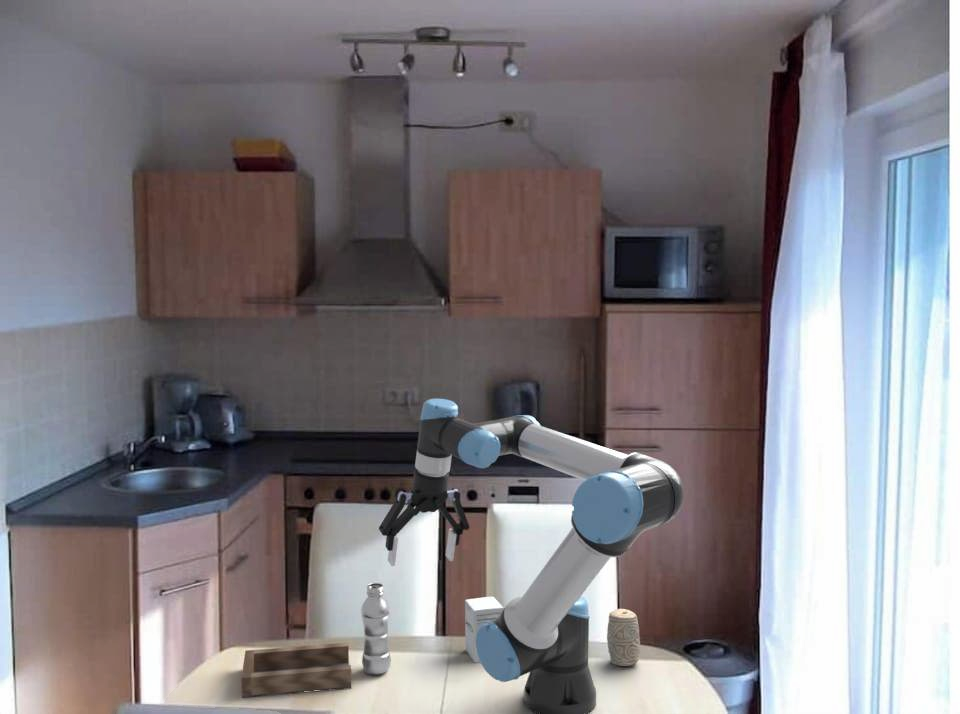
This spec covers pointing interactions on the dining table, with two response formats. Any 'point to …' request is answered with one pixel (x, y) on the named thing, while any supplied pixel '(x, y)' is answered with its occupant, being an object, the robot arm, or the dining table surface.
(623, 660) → the carving
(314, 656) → the wooden tray
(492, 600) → the supplement box
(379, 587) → the plastic bottle
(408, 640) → the dining table surface
